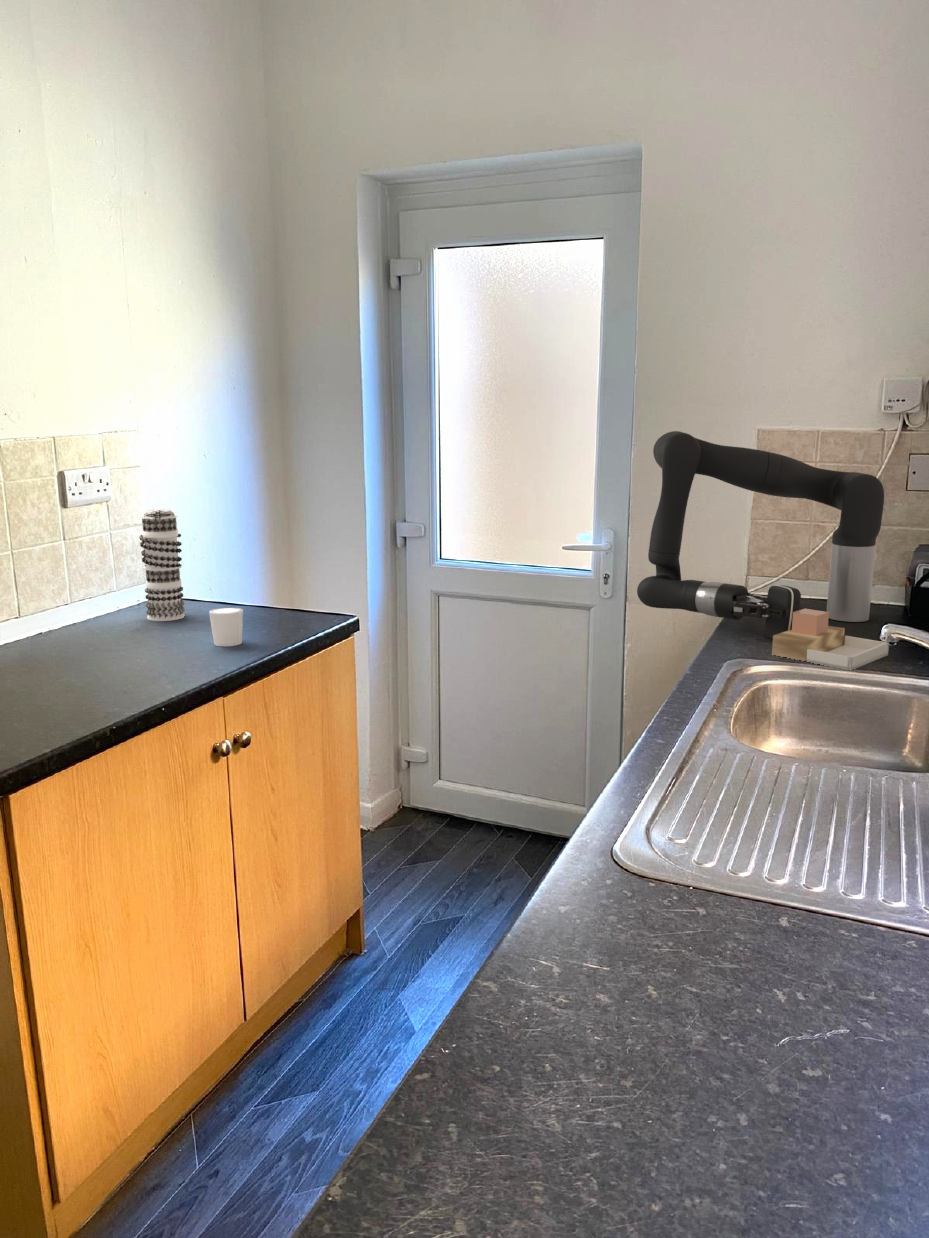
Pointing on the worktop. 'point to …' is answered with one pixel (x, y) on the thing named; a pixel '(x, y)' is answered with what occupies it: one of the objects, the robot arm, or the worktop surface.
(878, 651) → the tray
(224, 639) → the shot glass
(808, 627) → the peach rounded cube
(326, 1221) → the worktop surface
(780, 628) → the black rounded block
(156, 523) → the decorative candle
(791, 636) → the wooden block
